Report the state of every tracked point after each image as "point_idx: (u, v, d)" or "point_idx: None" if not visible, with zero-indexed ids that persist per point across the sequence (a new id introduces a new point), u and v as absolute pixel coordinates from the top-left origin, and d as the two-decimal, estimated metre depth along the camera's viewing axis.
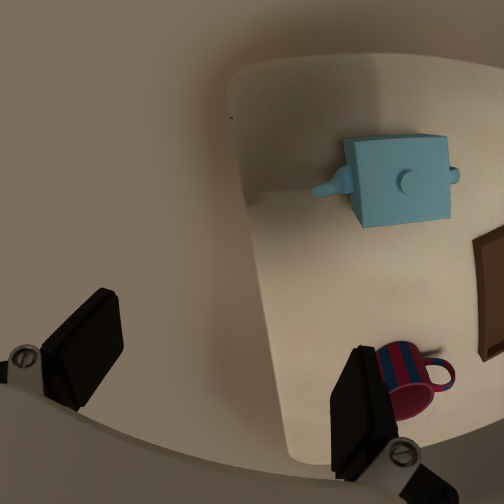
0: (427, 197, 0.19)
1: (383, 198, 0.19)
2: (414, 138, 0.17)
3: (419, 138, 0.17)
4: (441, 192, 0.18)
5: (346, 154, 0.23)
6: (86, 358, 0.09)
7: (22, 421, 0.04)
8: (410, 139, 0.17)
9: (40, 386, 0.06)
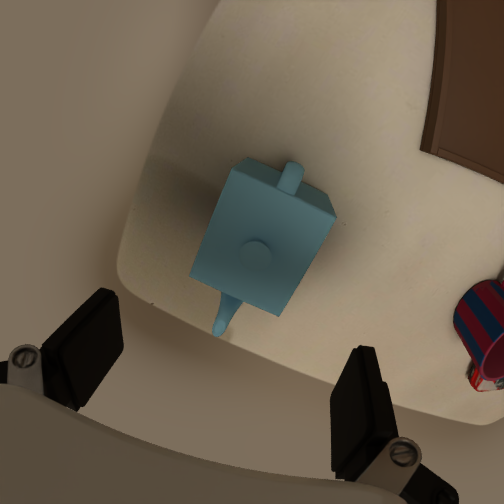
0: (290, 236, 0.16)
1: (259, 284, 0.18)
2: (214, 214, 0.17)
3: (216, 208, 0.16)
4: (295, 214, 0.16)
5: None
6: (86, 357, 0.09)
7: (22, 421, 0.04)
8: (212, 219, 0.17)
9: (40, 386, 0.06)
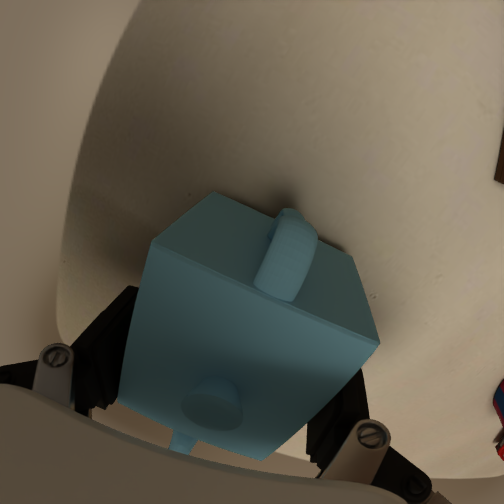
0: (281, 375, 0.08)
1: None
2: (131, 325, 0.08)
3: (134, 317, 0.08)
4: (293, 341, 0.07)
5: None
6: (116, 355, 0.09)
7: (21, 421, 0.04)
8: (131, 335, 0.08)
9: (68, 388, 0.06)
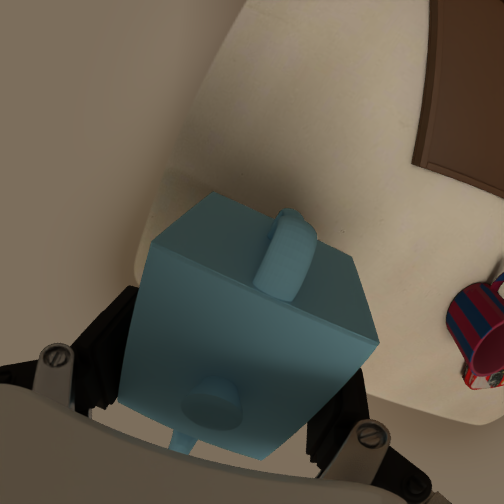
0: (281, 375, 0.08)
1: None
2: (132, 325, 0.08)
3: (134, 317, 0.08)
4: (293, 341, 0.07)
5: None
6: (116, 355, 0.09)
7: (22, 421, 0.04)
8: (131, 335, 0.08)
9: (68, 388, 0.06)
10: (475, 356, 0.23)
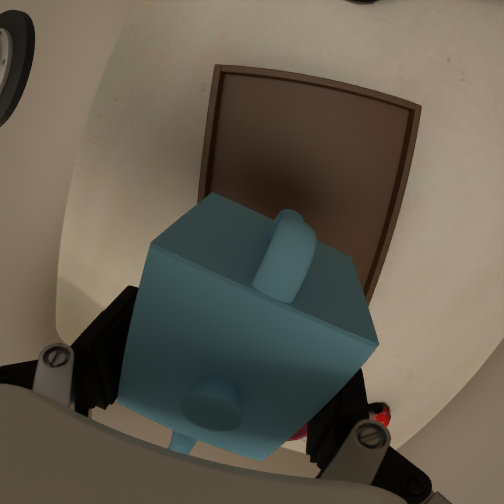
0: (280, 376, 0.08)
1: None
2: (131, 326, 0.08)
3: (133, 318, 0.08)
4: (292, 342, 0.07)
5: None
6: (116, 355, 0.09)
7: (21, 421, 0.04)
8: (131, 336, 0.08)
9: (68, 388, 0.06)
10: None
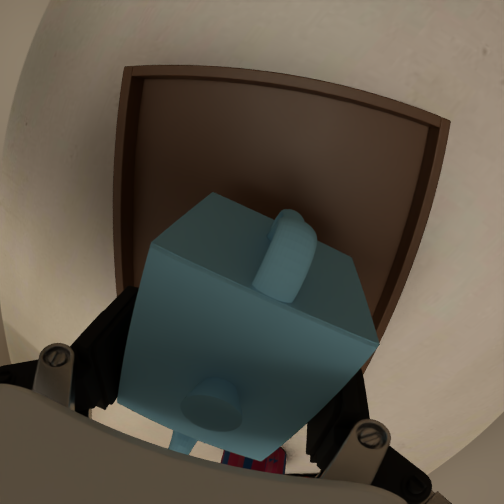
0: (280, 376, 0.08)
1: None
2: (131, 326, 0.08)
3: (133, 318, 0.08)
4: (293, 342, 0.07)
5: None
6: (116, 355, 0.09)
7: (21, 421, 0.04)
8: (131, 336, 0.08)
9: (68, 388, 0.06)
10: None
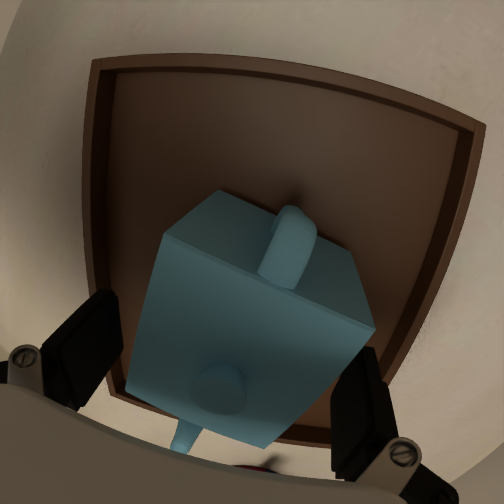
0: (283, 361, 0.08)
1: (232, 416, 0.10)
2: (142, 314, 0.08)
3: (145, 305, 0.08)
4: (294, 327, 0.08)
5: None
6: (86, 358, 0.09)
7: (21, 421, 0.04)
8: (141, 323, 0.09)
9: (40, 386, 0.06)
10: None
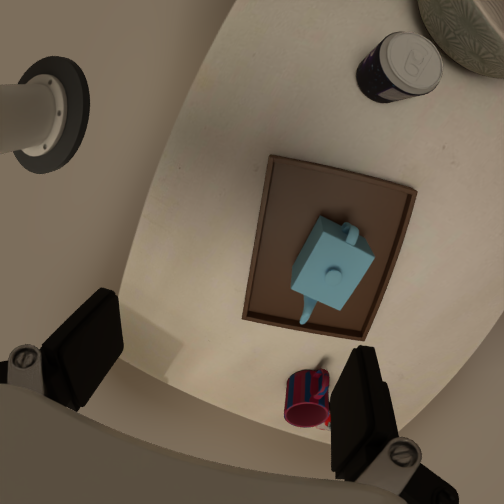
0: (350, 267, 0.30)
1: (331, 292, 0.31)
2: (311, 254, 0.30)
3: (312, 251, 0.30)
4: (354, 255, 0.29)
5: None
6: (86, 358, 0.09)
7: (22, 421, 0.04)
8: (309, 257, 0.30)
9: (40, 386, 0.06)
10: (303, 413, 0.43)
